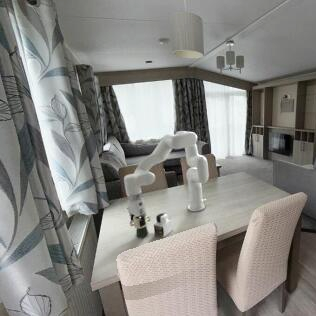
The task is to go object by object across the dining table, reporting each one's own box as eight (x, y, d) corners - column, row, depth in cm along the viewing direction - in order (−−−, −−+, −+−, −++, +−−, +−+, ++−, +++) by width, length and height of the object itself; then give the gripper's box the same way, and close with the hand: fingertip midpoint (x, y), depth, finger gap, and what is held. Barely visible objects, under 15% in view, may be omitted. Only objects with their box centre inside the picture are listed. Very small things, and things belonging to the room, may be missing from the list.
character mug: (151, 229, 124) (148, 210, 121) (153, 235, 118) (150, 216, 115) (131, 235, 118) (128, 215, 115) (132, 241, 113) (129, 221, 109)
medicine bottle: (154, 234, 119) (152, 216, 116) (162, 228, 125) (160, 211, 122) (164, 237, 116) (162, 219, 113) (172, 230, 123) (170, 213, 120)
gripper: (150, 196, 110) (153, 224, 114) (131, 190, 118) (135, 216, 122) (137, 202, 103) (141, 231, 108) (118, 195, 112) (123, 222, 116)
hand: (138, 223), depth 115 cm, fingers open, 7 cm apart
